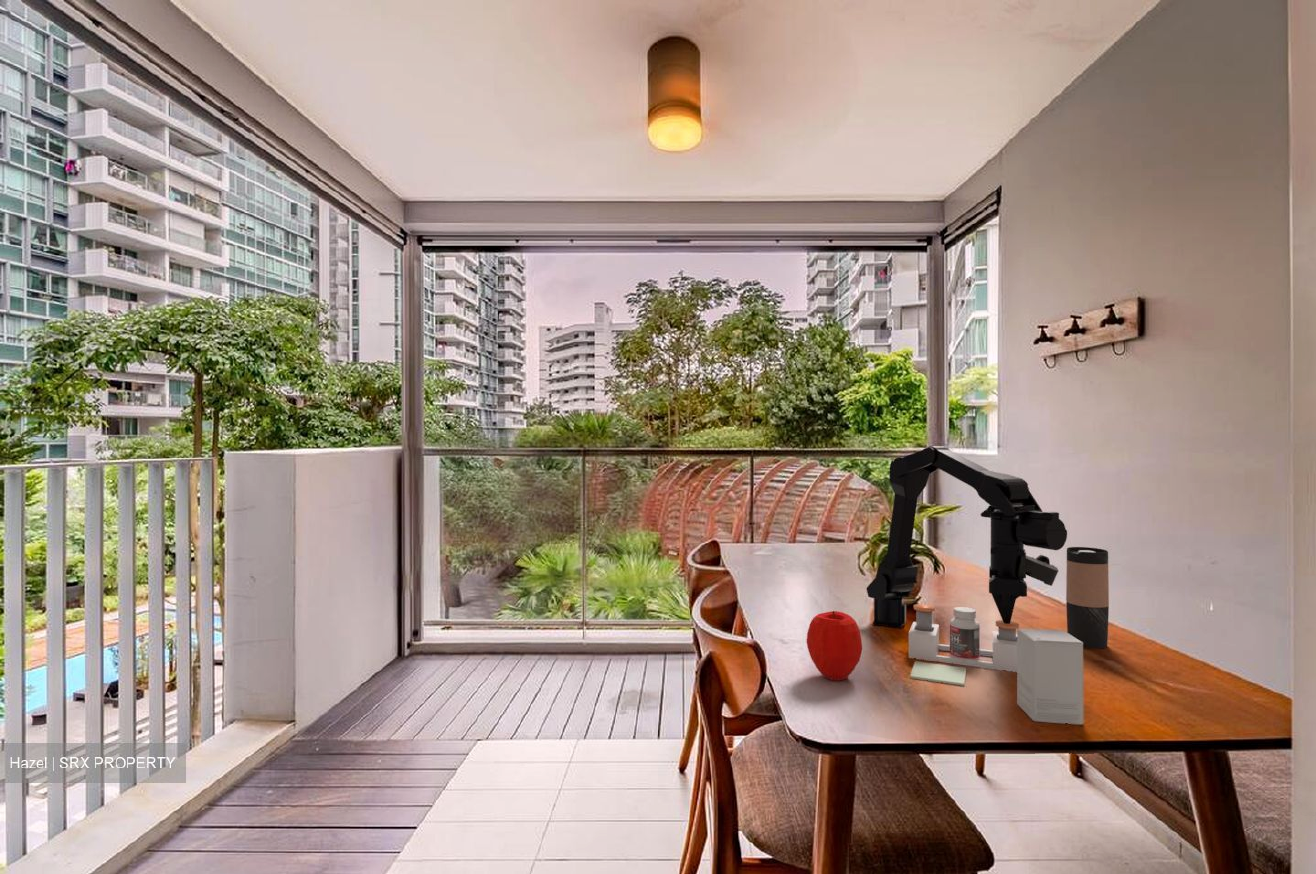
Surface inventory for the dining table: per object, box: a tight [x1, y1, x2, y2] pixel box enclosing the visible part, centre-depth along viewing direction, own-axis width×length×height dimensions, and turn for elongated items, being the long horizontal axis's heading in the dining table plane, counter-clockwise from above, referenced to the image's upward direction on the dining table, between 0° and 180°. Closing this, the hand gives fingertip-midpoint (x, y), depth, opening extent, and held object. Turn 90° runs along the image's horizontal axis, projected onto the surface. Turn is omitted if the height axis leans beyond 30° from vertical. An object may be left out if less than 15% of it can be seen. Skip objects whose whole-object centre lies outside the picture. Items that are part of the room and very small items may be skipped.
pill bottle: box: [949, 606, 981, 661], centre depth 135 cm, size 5×5×10 cm
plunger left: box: [913, 603, 936, 632], centre depth 138 cm, size 4×4×5 cm
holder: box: [908, 621, 1017, 673], centre depth 135 cm, size 20×9×5 cm, turn 64°
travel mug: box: [1065, 546, 1110, 650], centre depth 145 cm, size 8×8×20 cm
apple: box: [806, 610, 863, 682], centre depth 125 cm, size 10×10×12 cm
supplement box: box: [1016, 628, 1084, 725], centre depth 108 cm, size 7×7×13 cm
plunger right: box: [995, 619, 1020, 642], centre depth 132 cm, size 4×4×5 cm
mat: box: [909, 661, 967, 687], centre depth 126 cm, size 9×9×1 cm
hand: (1006, 623), depth 132 cm, fingers closed, pressing on plunger right
